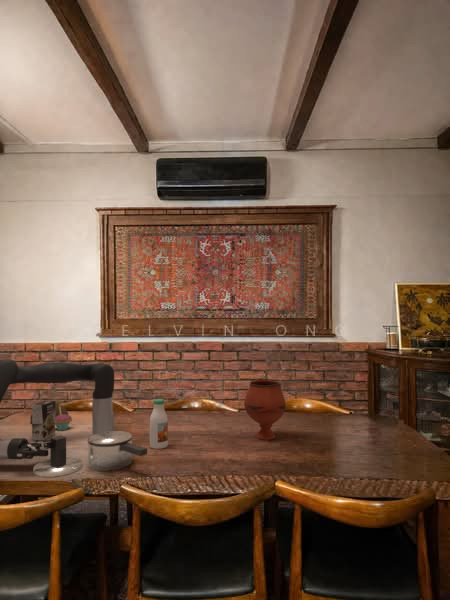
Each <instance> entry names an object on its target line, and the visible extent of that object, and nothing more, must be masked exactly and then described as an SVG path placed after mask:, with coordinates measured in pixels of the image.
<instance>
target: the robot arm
mask: <svg viewBox="0 0 450 600" xmlns="http://www.w3.org/2000/svg"><path fill="white" fill-rule="evenodd" d="M114 370H115V369H114V368H113V367H112V365H109V364H107V363H104V362H97V363H87V364H79V363H71V362H46V363H40V364H39V363H38V364H33V365H30V366H29V365H28V366H27V365H26V366H24V365H22V366H19V365H18V364H17V362H15V361H14V360H13V359H9V358H5V359H2V360H0V404H1V403H2V400H3V398H4V396H5V395H6V393H7V390H8V388H9V386H11V385H15V384H26V383H27V384H28V383H31V384H65V383H71V382H76V381H89V382H90V381H91V382H94V390H93V391H92V397H91V398H92V399H91V400H92V415H91V416H92V417H91V419H92V421H91V422H92V423H91V425H92V431H91V432H92V435H94V434H97V433H101V432H107V431H115V412H114V411H113V395H114V391H115V371H114ZM49 450H50V439H45V440H34V441H32V442H29V441H28V439H27V438H25V437H24V438H23V437H18V438H17V437H6V438H0V460H23V459H24V460H25V459H26V460H32V459H34V458H37V457H48V456H49Z"/></svg>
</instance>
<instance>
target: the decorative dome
mask: <svg viewBox="0 0 450 600" xmlns="http://www.w3.org/2000/svg"><path fill="white" fill-rule="evenodd" d="M59 405H60V407H61V415H63V414H65V415H69V412H68V410H67V409H66V407H64V405H61V404H60V403H57V402H55V417H56V416H58V415H60V410H59ZM29 424H31V425H32V413H31V415H30V423H29Z"/></svg>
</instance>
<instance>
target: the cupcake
mask: <svg viewBox="0 0 450 600" xmlns="http://www.w3.org/2000/svg"><path fill="white" fill-rule="evenodd" d="M60 405H61V404H60ZM60 405H59V410H60V415H58V416H56V417H55V428H56V429H57V430H58V431H65V430H68V428H69V425H70V423H71V422H72V420H73V419H72V416H70V415H69V414H68V415H65V414H63V415H61V407H60Z"/></svg>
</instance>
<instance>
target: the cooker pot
mask: <svg viewBox="0 0 450 600" xmlns="http://www.w3.org/2000/svg"><path fill="white" fill-rule="evenodd" d="M132 439H133V435H132V433H131V432H128V431H123V430H114V431H107V432H101V433H97V434H94V435H93V434H92V435H90V436H88V437H87V444H88V446H87V448H88V451H87V453H88V454H87V455H88V456H87V457H88V460H87V461H88V462H87V465H88V466H87V467H88V468H89V467H90V468H91V469H90V468H89V469H90V470H93V469H94V470H93V471H97V470H100V471H99V472H109V471H110V470H112V471H117V470H116V469H118V470H121V469H124V468H126V466H127V467H129V464H130V465H131V464H132V463H133V461H132V459H133V457H132V456H133V455H135V456H139V457H142V456H145V455H148V447H145V446H142V445H141V446H140V445H138V444H133V441H132ZM132 454H133V455H132ZM120 468H121V469H120Z"/></svg>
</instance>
